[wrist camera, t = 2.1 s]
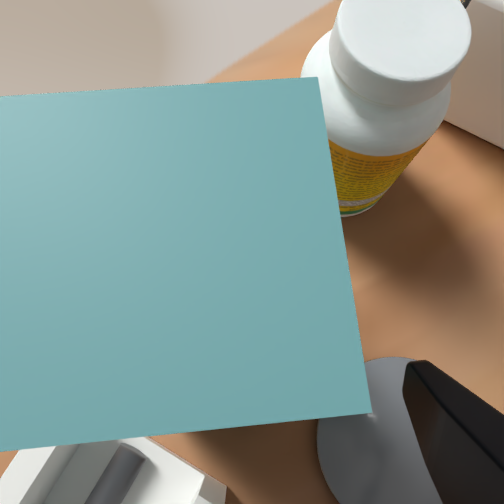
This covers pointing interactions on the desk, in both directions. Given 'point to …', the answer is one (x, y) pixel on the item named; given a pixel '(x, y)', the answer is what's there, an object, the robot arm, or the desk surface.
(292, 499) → the desk surface
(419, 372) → the robot arm
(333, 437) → the coaster
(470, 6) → the medicine bottle
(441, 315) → the desk surface
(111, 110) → the teal box
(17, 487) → the white channel beam
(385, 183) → the supplement bottle
